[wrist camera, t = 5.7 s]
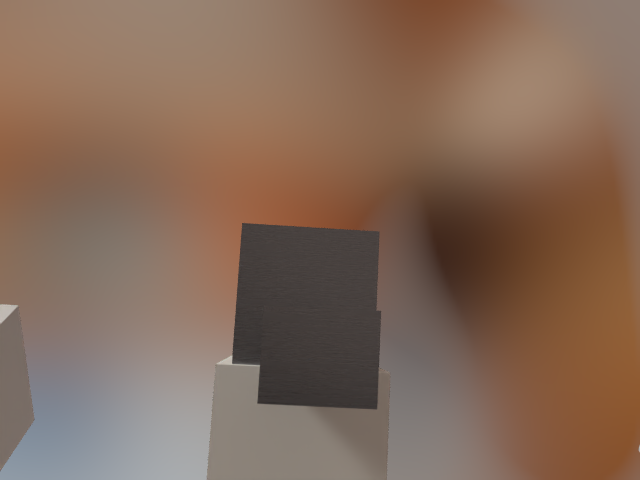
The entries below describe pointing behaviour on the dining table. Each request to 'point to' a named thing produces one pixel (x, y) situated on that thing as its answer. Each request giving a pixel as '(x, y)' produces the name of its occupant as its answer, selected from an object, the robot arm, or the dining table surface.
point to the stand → (292, 434)
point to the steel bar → (309, 315)
